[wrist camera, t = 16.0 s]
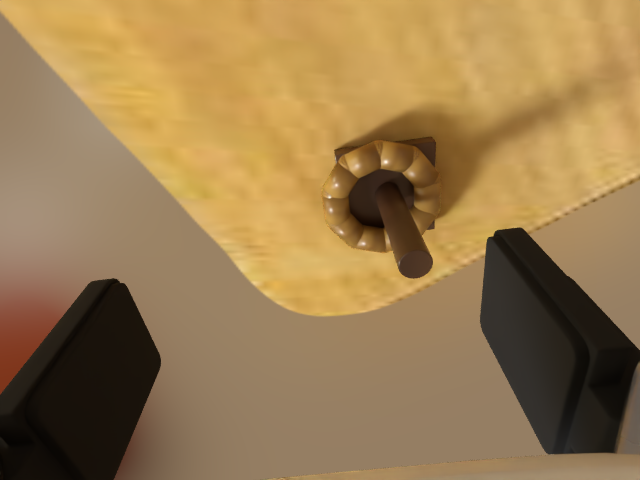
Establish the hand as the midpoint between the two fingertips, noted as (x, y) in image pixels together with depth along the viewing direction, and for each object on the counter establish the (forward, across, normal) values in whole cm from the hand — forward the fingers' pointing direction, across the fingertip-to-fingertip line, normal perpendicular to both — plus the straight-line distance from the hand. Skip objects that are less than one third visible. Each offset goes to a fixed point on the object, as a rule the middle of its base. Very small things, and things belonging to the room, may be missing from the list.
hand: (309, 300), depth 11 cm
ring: (+26, -5, +10) cm, 28 cm away
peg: (+28, -6, +10) cm, 30 cm away
